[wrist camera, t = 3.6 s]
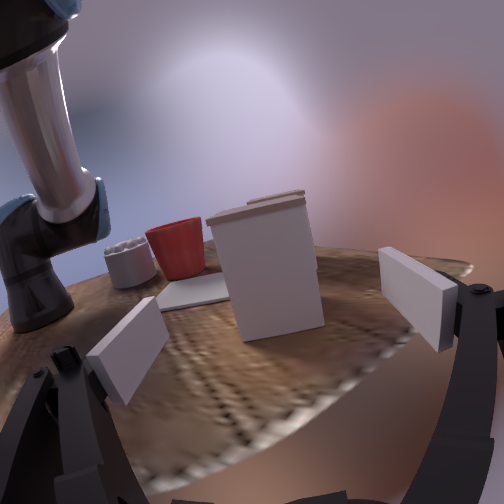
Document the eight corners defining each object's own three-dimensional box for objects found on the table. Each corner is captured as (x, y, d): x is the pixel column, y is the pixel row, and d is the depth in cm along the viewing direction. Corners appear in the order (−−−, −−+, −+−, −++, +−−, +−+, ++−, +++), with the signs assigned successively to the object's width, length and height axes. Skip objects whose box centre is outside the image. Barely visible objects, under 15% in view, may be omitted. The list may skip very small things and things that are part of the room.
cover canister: (239, 343, 22) (205, 219, 20) (246, 307, 30) (221, 211, 27) (327, 326, 22) (304, 197, 19) (314, 293, 29) (294, 194, 27)
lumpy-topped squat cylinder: (153, 268, 65) (143, 234, 63) (161, 277, 54) (148, 235, 52) (114, 281, 61) (103, 247, 59) (113, 293, 49) (99, 251, 47)
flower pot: (224, 264, 51) (211, 213, 49) (174, 286, 44) (157, 229, 42) (195, 262, 59) (184, 218, 57) (151, 280, 52) (137, 233, 50)
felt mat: (143, 314, 34) (142, 311, 34) (171, 284, 46) (170, 282, 46) (229, 299, 33) (228, 296, 33) (239, 270, 45) (238, 268, 45)
